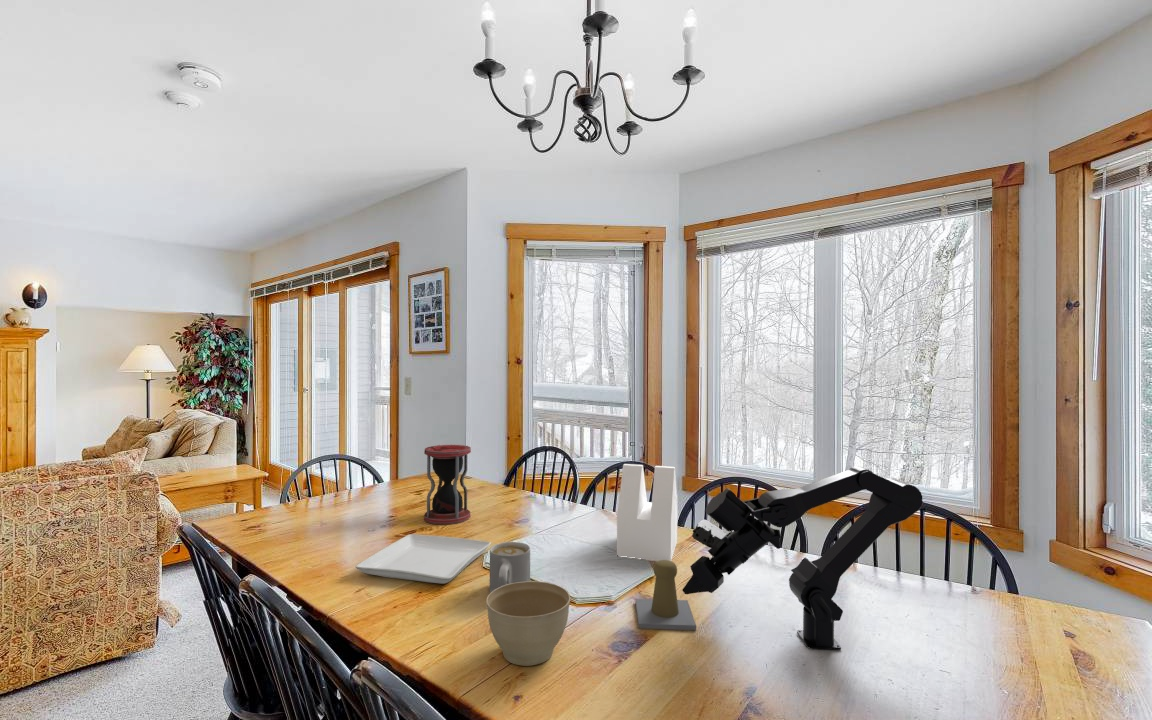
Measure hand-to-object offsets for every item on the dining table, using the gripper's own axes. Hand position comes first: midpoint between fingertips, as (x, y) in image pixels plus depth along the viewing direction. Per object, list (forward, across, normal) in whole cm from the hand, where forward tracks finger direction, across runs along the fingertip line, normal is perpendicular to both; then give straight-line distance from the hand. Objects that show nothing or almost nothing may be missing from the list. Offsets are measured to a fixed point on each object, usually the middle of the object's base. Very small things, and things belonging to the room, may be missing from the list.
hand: (692, 584), depth 117 cm
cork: (+10, 0, +1) cm, 10 cm away
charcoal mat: (+10, 0, +1) cm, 10 cm away
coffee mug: (+37, +10, -25) cm, 45 cm away
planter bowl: (+22, +29, -10) cm, 37 cm away
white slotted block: (+26, -37, -14) cm, 47 cm away
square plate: (+58, +9, -46) cm, 74 cm away
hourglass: (+77, -24, -66) cm, 104 cm away
